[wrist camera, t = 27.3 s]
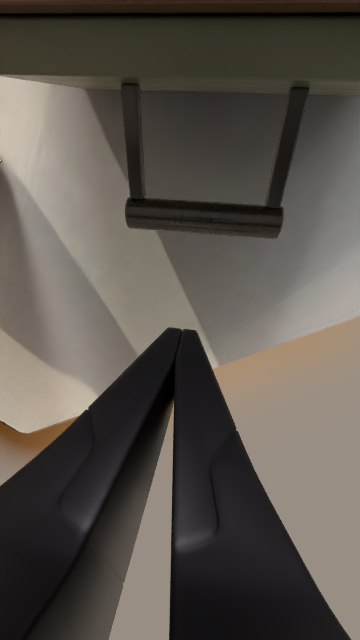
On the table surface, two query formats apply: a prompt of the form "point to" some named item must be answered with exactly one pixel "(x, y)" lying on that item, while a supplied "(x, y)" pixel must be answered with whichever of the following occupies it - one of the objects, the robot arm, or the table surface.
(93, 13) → the cabinet
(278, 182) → the drawer
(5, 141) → the table surface
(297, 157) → the table surface
